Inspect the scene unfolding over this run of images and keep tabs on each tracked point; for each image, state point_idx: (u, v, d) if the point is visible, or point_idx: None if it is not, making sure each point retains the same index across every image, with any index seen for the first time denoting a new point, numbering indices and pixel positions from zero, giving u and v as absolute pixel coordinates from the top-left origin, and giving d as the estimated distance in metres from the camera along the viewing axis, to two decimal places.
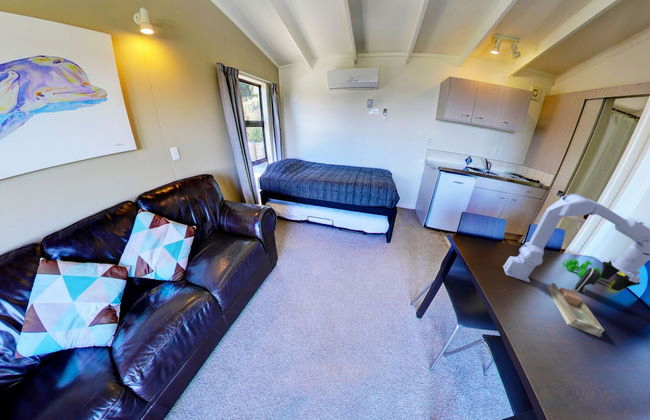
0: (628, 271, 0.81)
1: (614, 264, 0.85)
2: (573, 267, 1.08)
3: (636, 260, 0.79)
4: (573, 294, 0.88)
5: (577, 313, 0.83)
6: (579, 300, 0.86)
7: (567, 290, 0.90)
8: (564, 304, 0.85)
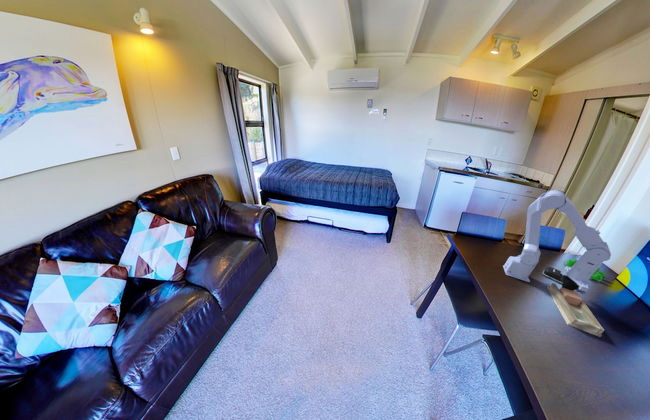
0: (579, 280, 0.86)
1: (568, 273, 0.89)
2: None
3: (582, 269, 0.85)
4: (573, 294, 0.88)
5: (577, 313, 0.83)
6: (579, 300, 0.86)
7: (567, 290, 0.90)
8: (564, 304, 0.85)
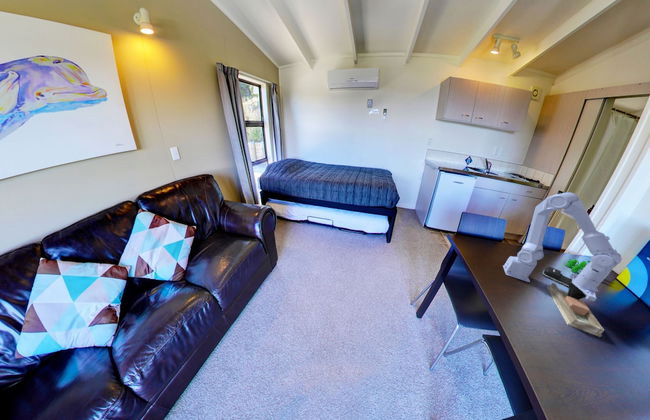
0: (586, 289, 0.81)
1: (574, 281, 0.85)
2: (577, 268, 1.07)
3: (586, 275, 0.81)
4: (579, 303, 0.83)
5: None
6: (586, 310, 0.81)
7: (573, 299, 0.85)
8: (564, 304, 0.85)
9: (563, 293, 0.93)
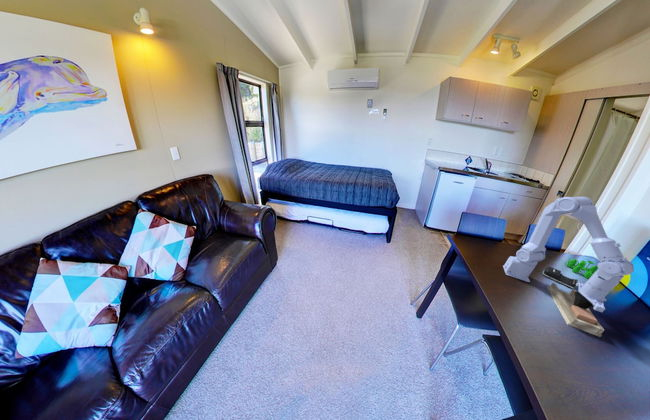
0: (593, 299, 0.77)
1: (580, 290, 0.81)
2: (578, 268, 1.07)
3: (592, 283, 0.77)
4: (586, 313, 0.79)
5: None
6: (593, 321, 0.77)
7: (579, 309, 0.81)
8: (564, 304, 0.85)
9: (563, 293, 0.93)
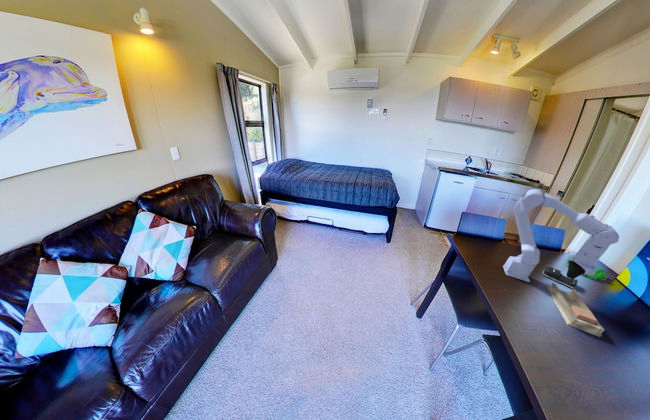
0: (585, 265, 0.84)
1: (573, 258, 0.88)
2: None
3: (589, 253, 0.83)
4: (586, 313, 0.79)
5: None
6: (593, 321, 0.77)
7: (579, 309, 0.81)
8: (564, 304, 0.85)
9: (563, 293, 0.93)
